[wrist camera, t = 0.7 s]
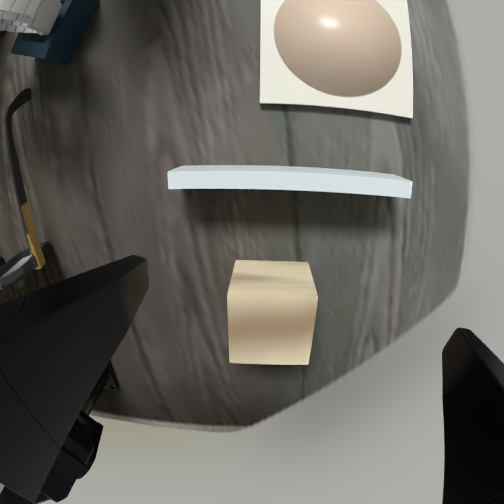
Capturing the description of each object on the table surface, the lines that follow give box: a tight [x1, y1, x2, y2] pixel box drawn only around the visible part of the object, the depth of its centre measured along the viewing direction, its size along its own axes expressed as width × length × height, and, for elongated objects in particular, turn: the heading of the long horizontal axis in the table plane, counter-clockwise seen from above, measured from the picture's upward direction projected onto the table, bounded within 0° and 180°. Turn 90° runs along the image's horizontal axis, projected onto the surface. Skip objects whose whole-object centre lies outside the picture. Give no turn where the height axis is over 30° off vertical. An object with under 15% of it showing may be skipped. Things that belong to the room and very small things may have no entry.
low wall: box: [168, 165, 413, 198], centre depth 18 cm, size 1×14×3 cm, turn 89°
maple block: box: [227, 260, 318, 365], centre depth 20 cm, size 5×5×5 cm
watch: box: [0, 0, 99, 64], centre depth 10 cm, size 6×8×11 cm
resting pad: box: [260, 0, 413, 118], centre depth 15 cm, size 10×10×1 cm
